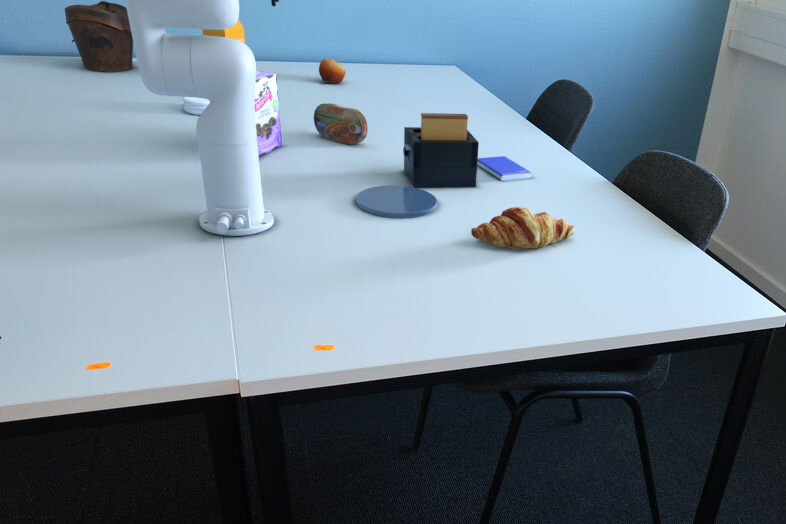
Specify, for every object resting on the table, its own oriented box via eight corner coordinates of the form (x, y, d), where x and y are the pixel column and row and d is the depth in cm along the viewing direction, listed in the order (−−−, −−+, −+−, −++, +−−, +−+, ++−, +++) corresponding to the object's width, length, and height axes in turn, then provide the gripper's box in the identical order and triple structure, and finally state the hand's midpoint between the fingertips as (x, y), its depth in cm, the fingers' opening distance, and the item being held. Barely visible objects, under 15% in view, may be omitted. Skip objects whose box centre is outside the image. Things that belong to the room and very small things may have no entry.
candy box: (252, 161, 165) (244, 84, 156) (227, 157, 165) (218, 80, 157) (283, 145, 176) (277, 72, 168) (260, 141, 177) (253, 69, 168)
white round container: (226, 116, 192) (225, 102, 190) (184, 115, 188) (182, 101, 187) (225, 106, 200) (223, 92, 198) (184, 105, 196) (182, 91, 194)
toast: (465, 164, 164) (468, 116, 159) (421, 164, 161) (422, 115, 156) (463, 161, 166) (465, 113, 160) (420, 162, 162) (421, 113, 157)
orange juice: (208, 80, 221) (198, 6, 211) (227, 75, 228) (219, 3, 218) (231, 84, 219) (222, 10, 209) (249, 79, 227) (242, 7, 216)
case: (132, 59, 233) (121, -4, 224) (152, 73, 221) (141, 7, 212) (67, 61, 223) (53, -5, 214) (84, 76, 211) (70, 6, 201)
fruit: (310, 74, 234) (323, 51, 233) (333, 88, 239) (345, 66, 237) (315, 80, 228) (328, 57, 227) (338, 94, 233) (351, 71, 231)
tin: (313, 135, 186) (311, 100, 182) (322, 132, 188) (320, 98, 184) (361, 148, 181) (360, 113, 176) (369, 146, 183) (369, 111, 179)
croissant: (564, 248, 150) (561, 208, 150) (588, 244, 141) (585, 201, 140) (465, 254, 142) (461, 211, 141) (483, 250, 133) (479, 204, 132)
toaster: (475, 187, 166) (478, 142, 161) (407, 188, 161) (408, 141, 156) (463, 171, 174) (465, 127, 169) (398, 171, 169) (398, 127, 164)
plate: (441, 218, 148) (441, 213, 148) (358, 217, 144) (358, 212, 144) (432, 190, 161) (432, 186, 161) (355, 188, 157) (355, 184, 157)
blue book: (532, 171, 174) (505, 155, 183) (501, 174, 170) (476, 158, 179) (531, 178, 175) (505, 162, 184) (501, 181, 171) (475, 164, 180)
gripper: (190, -96, 142) (202, 2, 151) (286, -86, 146) (292, 9, 155) (195, -98, 148) (207, -3, 157) (287, -88, 153) (293, 4, 161)
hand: (249, 3), depth 156 cm, fingers open, 9 cm apart
